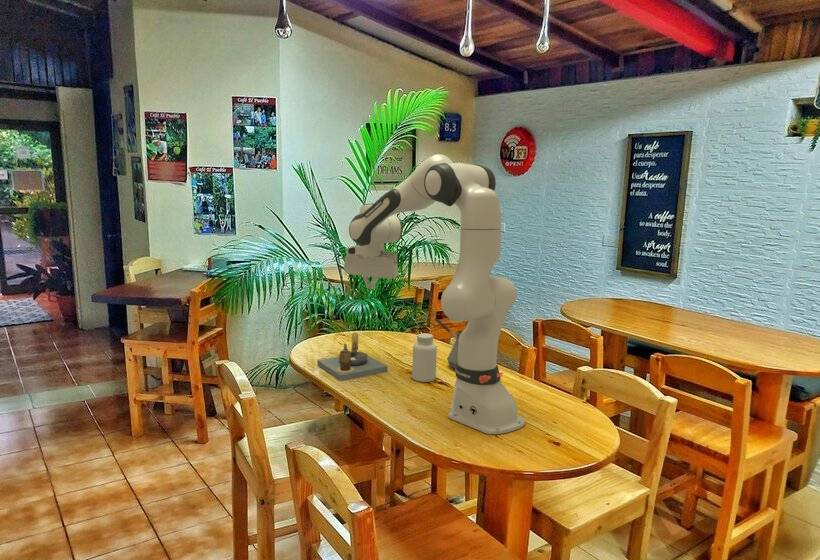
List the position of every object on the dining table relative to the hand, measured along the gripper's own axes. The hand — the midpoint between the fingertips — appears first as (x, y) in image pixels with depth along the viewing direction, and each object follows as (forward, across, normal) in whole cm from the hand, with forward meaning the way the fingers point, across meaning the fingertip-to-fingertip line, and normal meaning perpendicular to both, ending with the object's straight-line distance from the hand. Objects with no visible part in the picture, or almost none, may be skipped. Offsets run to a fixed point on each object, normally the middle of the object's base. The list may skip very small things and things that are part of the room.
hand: (370, 288), depth 201 cm
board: (+27, +2, +9) cm, 29 cm away
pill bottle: (+27, -24, +6) cm, 37 cm away
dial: (+25, +3, +6) cm, 26 cm away
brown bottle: (+25, 0, +17) cm, 30 cm away
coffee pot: (+27, -27, -13) cm, 41 cm away
